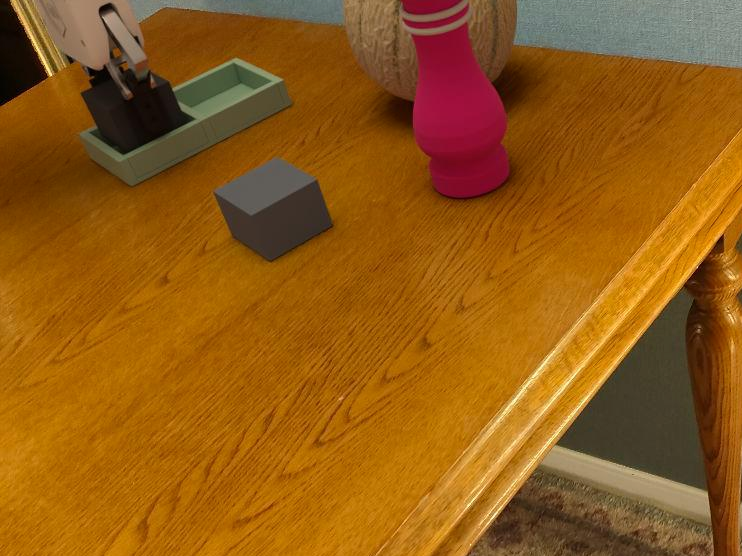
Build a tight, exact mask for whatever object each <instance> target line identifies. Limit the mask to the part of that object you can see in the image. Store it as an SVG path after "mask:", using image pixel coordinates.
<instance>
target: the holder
mask: <svg viewBox="0 0 742 556" xmlns="http://www.w3.org/2000/svg"><path fill="white" fill-rule="evenodd" d="M172 90H173V92H174V94H175V97H176V99H177V101H178V103H179V106H180V108H181V110H182V113H183V115H184V117H185V120H186V122H187V124H186V125H184V126H182V127H180V128H178V129H176V130H174V131H172V132H170V133H168V134H166V135H163V136H161V137H159V138H157V139H155V140H153V141H151V142H149V143H147V144H145V145H143V146H141V147H139V148H137V149H135V150H133V151H131V152H129V153H127V152H126V151H124V150H123V149H121V148H120V147H118V146H117V145H115V144H114V143H112V142H111V141H109V140H108V139H106V138H105V137H103V136H102V135H101V134H100V132H99V130H98V128H97V126H96V124H95V125H93V126H91V127H88V128H87V129H84V130H83V131H81V132H78V133H77V135H78V137H79V140H80V141H81V143H82V145H83V147H84V149H85V150H86V153H87V154H88V156H89V158H90V159H91V160H92V161H93V162H95V163H96V164H98V165H100V166H101V167H102V168H104V169H105V170H107V171H108V172H109V173H111V174H112V175H114V176H115V177H116V178H118V179H119V180H121V181H122V182H124V183H125V184H127V185H128V186H129V187H130V188H133V187H135V186H137V185H138V184H140V183H142V182H144V181H146V180H147V179H150V178H151V177H154V176H156V175H158V174H160V173H162V172H163V171H166V170H168V169H169V168H172V167H173V166H175V165H177V164H179V163H181V162H183V161H185V160H187V159H188V158H192V156H195V155H197V154H199V153H200V152H203V151H205V150H206V149H208V148H210V147H212V146H214V145H216V144H219V143H220V142H222V141H224V140H226V139H228V138H230V137H232V136H234V135H236V134H238V133H239V132H241V131H244V130H246V129H248V128H250V127H251V126H253V125H255V124H257V123H259V122H261V121H263V120H265V119H267V118H269V117H272V116H273V115H275V114H277V113H279V112H280V111H282V110H285V109H286V108H288V107H290V106H292V105H293V103H292V100H291V97H290V94H289V91H288V88H287V85H286V82H285V80H284V79H283V78H281V77H280V76H277V75H275V74H272V73H271V72H268V71H266V70H264V69H263V68H260V67H257V66H256V65H253V64H251V63H249V62H247V61H245V60H243V59H240V58H238V57H234V58H233V59H231V60H228V61H226V62H224V63H222V64H220V65H218V66H216V67H214V68H211V69H209V70H208V71H206V72H203V73H201V74H199V75H197V76H195V77H193V78H191V79H188V80H186V81H185V82H183V83H180V84H178V85H177V86H174V87H172Z"/></svg>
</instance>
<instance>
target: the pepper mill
mask: <svg viewBox="0 0 742 556" xmlns="http://www.w3.org/2000/svg"><path fill="white" fill-rule="evenodd" d="M400 1H401V2H402V4H401V5H400V8H399V13H400V15H401V16H402V19H403V22H402V26H403V28H404V29H405V30H406V31H407V32H408V33H411V36H412V38H413V41H414V44H415V48H416V53H417V59H418V84H417V90H416V96H415V102H413V109H412V127H413V133H414V140H415V142H416V144H417V147H419V148H420V150H421V151H422V152H423V154H425V155H426V156H428V157H429V158H430V160H429V161H428V169H429V172H430V177H431V181H432V185H433V188H434V189H435V190H436V191H437V192H438V193H440V194H441V195H442V196H445V197H449V198H453V199H454V198H457V199H468V198H473V197H474V198H475V197H478V196H481V195H485V194H488V193H489V192H492V191H495V190H496V189H497V188H499V187H500V186H501V185H503V183H505V182H506V180H507V178H508V177H509V175H510V172H511V171H510V163H509V158H508V152H507V149H506V147H505V146H504V145H503V143H502V141H503V140H504V138H505V135H506V132H507V129H508V117H507V114H506V110H505V107H504V103H503V101H502V100H501V97H500V95H499V93H498V91H497V90H496V88H495V87H494V85H493V84H492V83H490V81H489V80H488V79H487V77H486V76H485V74H484V73H483V71H482V70H481V68H480V66H479V65H478V62H477V60H476V58H475V56H474V53H473V50H472V46H471V42H470V38H469V31H468V20H469V18H470V17H471V14H472V10H471V7H470V6H469V3H468V2H469V0H400Z"/></svg>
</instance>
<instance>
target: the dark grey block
mask: <svg viewBox="0 0 742 556" xmlns="http://www.w3.org/2000/svg"><path fill="white" fill-rule="evenodd" d="M150 74H151V75H152V77H153V79H154V81H155V83H156V87H157V89H158V92H159V94H160V96H161V98H162V101H163V103H164V105H165V108H166V110H167V112H168V114H169V117H170V119H171V121H172V123H173V126H174V129H173V130H172V131H174V130H176V129H178V128H180V127H182V126H184V125H186V124H187V122H186V120H185V117H184V115H183V113H182V110H181V108H180V106H179V103H178V101H177V99H176V97H175V94H174V92H173V90H172V88H173V87H172V85H171V82H170V81H169V80H167V79H165V78H164V77H162V76H160V75H158V74H156V73H155V72H152V71H151V72H150ZM122 76H123V77H124V79H125V72H124V73H122ZM80 96H81V98H82V100H83V102H84V103H85V106H86V108H87V110H88V112H89V114H90V116H91V117H92V120H93V122H94V124H95V125H96V126H97V128H98V130H99V132H100V134H101V135H102V136H103V137H105V138H106V139H108V140H109V141H111V142H112V143H114V144H115V145H117V146H118V147H120V148H121V149H123V150H124V151H126V152H127V153H129V152H131V151H133V150H135V149H137V148H139V147H141V146H143V145H145V143H143V142H141V141H140V140H139V138H138V136H137V134H136V132H135V130H134V127H133V125H132V123H131V121H130V119H129V117H128V115H127V113H126V111H125V108H124V106H123V104H122V102H121V100H120V99H122V98H124V96H123V95H122V93H121V91H120V90H119V88H118V86H117V84H116V83H115V81H114V79H113V78H111V79H109V80H107V81H105V82H103V83H101V84H98V85H96V86H94V87H89V88H88V89H85V90H83V91H81V92H80ZM172 131H171V132H172ZM169 133H170V132H169ZM167 134H168V133H167ZM165 135H166V134H165Z"/></svg>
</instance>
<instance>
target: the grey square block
mask: <svg viewBox="0 0 742 556" xmlns="http://www.w3.org/2000/svg"><path fill="white" fill-rule="evenodd" d="M212 193H213V196H214V198H215V200H216V202H217V205H218V207H219V209H220V212H221V214H222V216H223V218H224V221H225V223H226V225H227V228H228V230H229V233H230V235H231V236H232V237H233V238H234V239H236V240H237V241H238V242H240V243H241V244H243V245H245V246H246V247H247V248H249V249H250V250H252V251H253V252H255V253H256V254H258V255H259V256H260V257H262V258H264V260H266V261H268V262H272V261H273V260H275V259H277V258H279V257H281V256H282V255H284V254H286V253H288V252H289V251H291V250H293V249H296V248H297V247H298V246H300V245H302V244H304V243H305V242H307V241H308V240H310V239H312V238H314V237H315V236H317V235H319V234H321V233H323V232H325V231H326V230H328V229H329V228H331V227H333V226H334V223H333V221H332V217H331V215H330V212H329V209H328V206H327V204H326V201H325V198H324V195H323V192H322V189H321V185H320V183H319V180H318V179H317V177H314V176H312V175H310V174H309V173H307V172H305V171H304V170H301V169H299V168H298V167H297V166H294V165H292V164H291V163H289V162H287V161H285V160H284V159H282V158H280V157H278V156H276V157H274V158H272V159H270V160H269V161H266V162H264V163H262V164H261V165H258V166H257V167H255V168H254V169H252V170H250V171H248V172H246V173H244V174H242V175H240V176H238V177H236V178H234V179H233V180H231V181H229V182H226V183H225V184H223V185H222V186H220V187H218V188H216V189H214V190H212Z"/></svg>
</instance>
